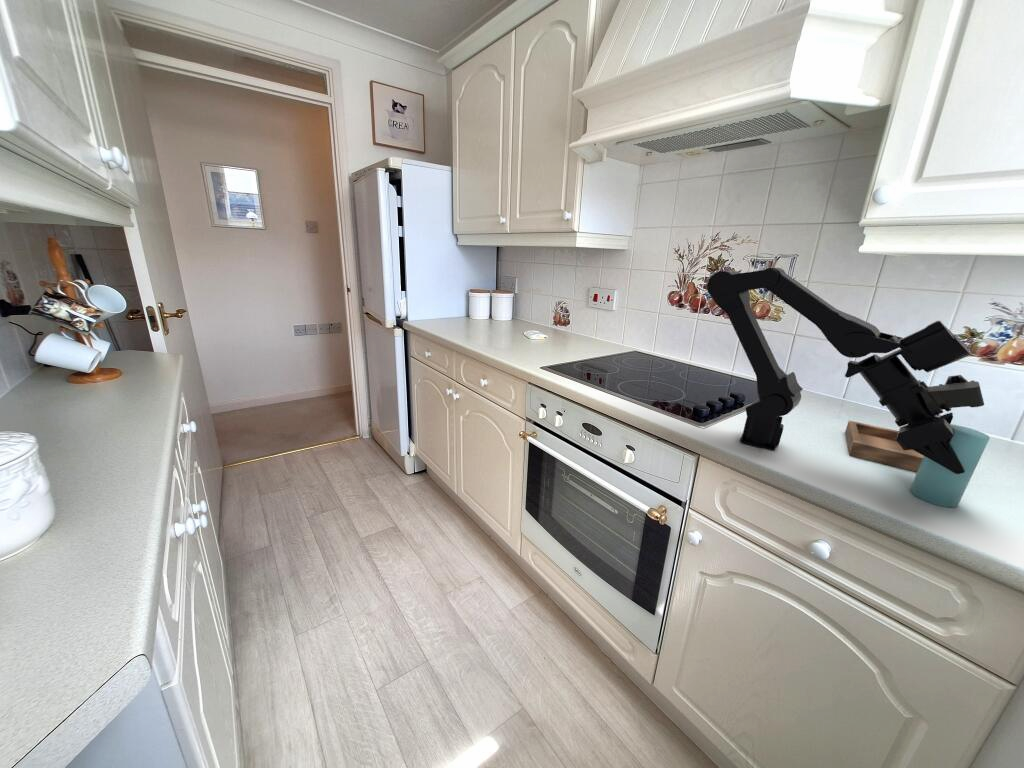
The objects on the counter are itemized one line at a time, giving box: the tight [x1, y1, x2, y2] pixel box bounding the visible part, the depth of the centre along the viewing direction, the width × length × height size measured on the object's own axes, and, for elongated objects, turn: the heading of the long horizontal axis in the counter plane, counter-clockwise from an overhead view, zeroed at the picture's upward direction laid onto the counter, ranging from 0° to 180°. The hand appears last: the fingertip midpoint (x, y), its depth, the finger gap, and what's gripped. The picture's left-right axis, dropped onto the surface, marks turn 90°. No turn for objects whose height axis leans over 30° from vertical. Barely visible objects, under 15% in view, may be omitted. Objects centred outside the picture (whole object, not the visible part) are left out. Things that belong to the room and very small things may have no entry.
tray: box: [844, 420, 924, 473], centre depth 85 cm, size 16×14×3 cm
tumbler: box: [909, 424, 991, 508], centre depth 68 cm, size 6×6×12 cm
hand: (960, 466), depth 67 cm, fingers closed on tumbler, 6 cm apart
